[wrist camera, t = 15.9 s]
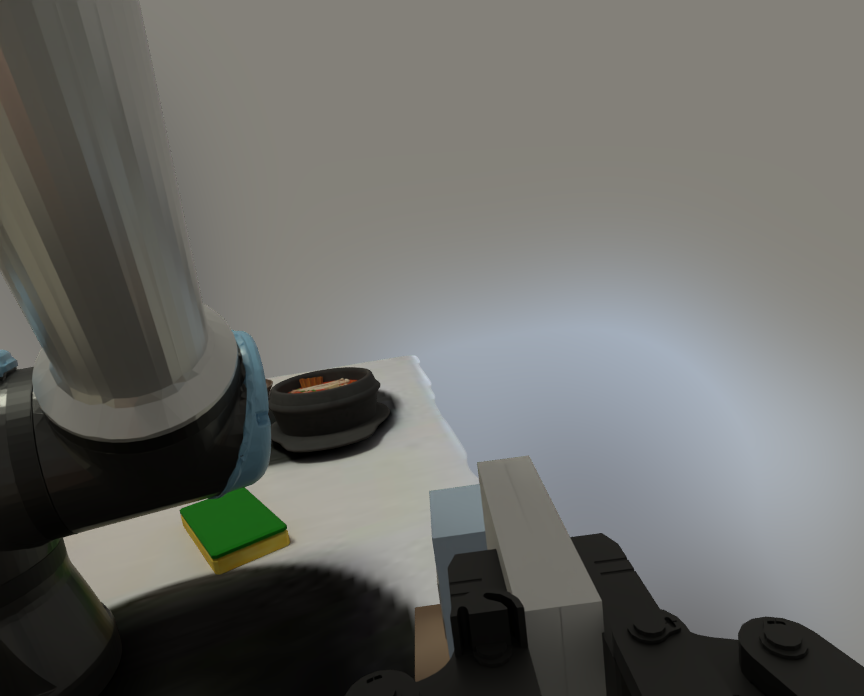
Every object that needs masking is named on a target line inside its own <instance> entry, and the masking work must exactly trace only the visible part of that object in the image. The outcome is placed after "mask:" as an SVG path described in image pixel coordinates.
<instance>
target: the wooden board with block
mask: <svg viewBox="0 0 864 696" xmlns="http://www.w3.org/2000/svg"><path fill="white" fill-rule="evenodd" d="M436 570H437V568H436ZM437 585H438V591H439V598H440V604H437V605H430V606H423V607H416V608H415V682H417V681H420V680H422V679H425V678H427V677H429V676H431V675H433V674H434V673H436V672H438V671H439V670H440V669H441V668H443V667H444V666H445V665H446V664H447V662H448V661H449V660H450V657H449V650H448V643H447V636H446V630H445V623H444V616H443V609H442V602H441V596H440V589H439V582H438V575H437Z"/></svg>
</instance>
